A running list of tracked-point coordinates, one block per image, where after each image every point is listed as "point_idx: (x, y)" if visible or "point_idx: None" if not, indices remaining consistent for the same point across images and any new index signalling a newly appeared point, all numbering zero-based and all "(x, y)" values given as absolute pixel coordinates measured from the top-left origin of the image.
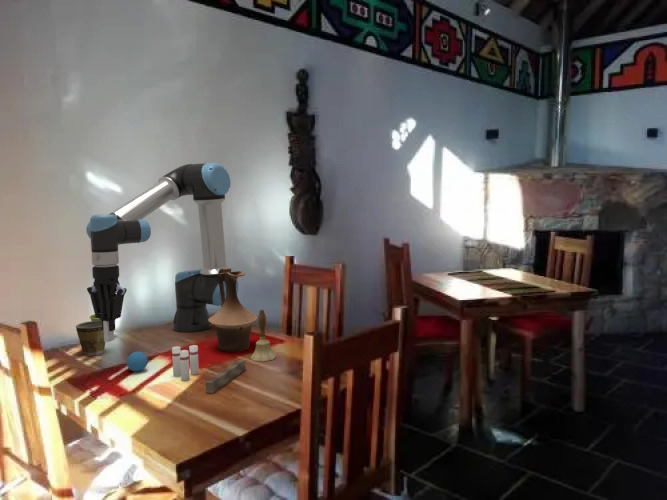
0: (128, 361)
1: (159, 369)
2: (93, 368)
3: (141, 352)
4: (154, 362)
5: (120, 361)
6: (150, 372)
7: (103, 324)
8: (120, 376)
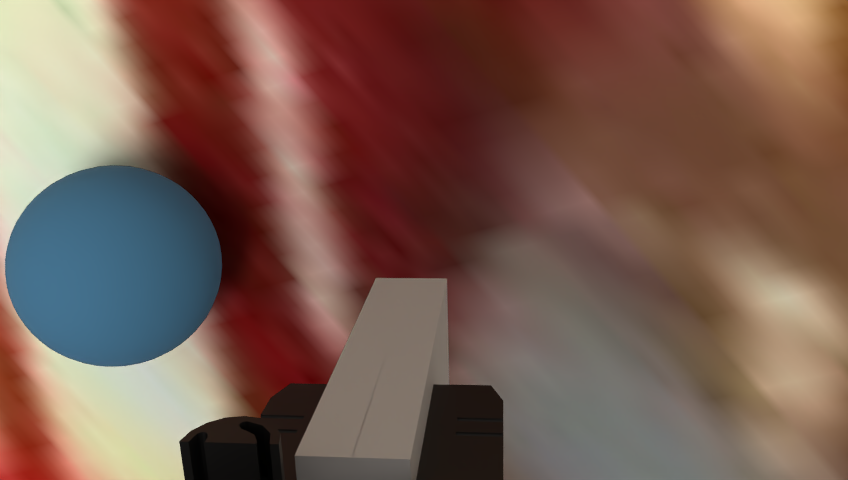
0: (128, 184)
1: None
2: (618, 186)
3: (36, 323)
4: None
5: None
6: None
7: (413, 414)
8: (201, 72)
